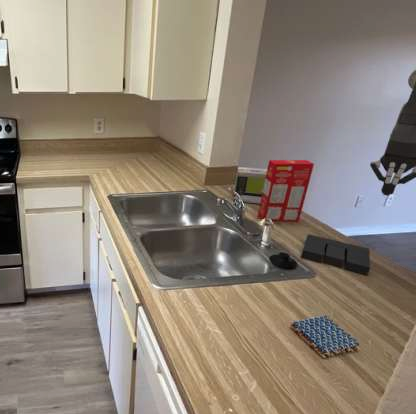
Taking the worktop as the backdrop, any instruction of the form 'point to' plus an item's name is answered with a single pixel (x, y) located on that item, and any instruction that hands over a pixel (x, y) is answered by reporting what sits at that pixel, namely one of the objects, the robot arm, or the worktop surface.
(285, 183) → the food packaging
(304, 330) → the woven mat
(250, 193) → the tea box
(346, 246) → the socket pad
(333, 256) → the plug pad
